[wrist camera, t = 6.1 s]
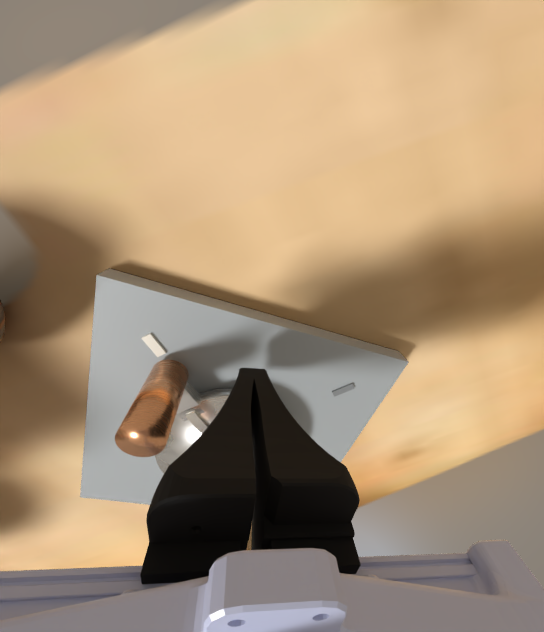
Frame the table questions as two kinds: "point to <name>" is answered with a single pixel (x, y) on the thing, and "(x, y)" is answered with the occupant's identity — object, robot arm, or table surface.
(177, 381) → the dial
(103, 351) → the board
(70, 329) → the table surface
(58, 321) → the table surface
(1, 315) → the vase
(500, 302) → the table surface
